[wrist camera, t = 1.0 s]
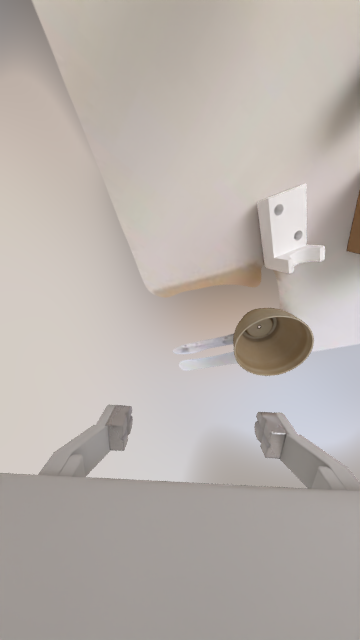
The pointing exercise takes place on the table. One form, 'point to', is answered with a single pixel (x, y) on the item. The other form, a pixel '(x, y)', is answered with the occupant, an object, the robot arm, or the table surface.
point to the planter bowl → (271, 342)
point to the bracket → (286, 231)
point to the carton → (355, 231)
